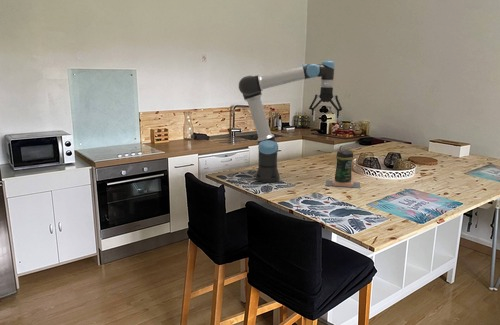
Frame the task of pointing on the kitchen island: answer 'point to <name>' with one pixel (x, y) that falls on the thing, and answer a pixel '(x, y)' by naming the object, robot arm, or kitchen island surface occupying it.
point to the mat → (329, 183)
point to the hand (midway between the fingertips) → (324, 121)
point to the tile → (343, 183)
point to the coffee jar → (343, 166)
